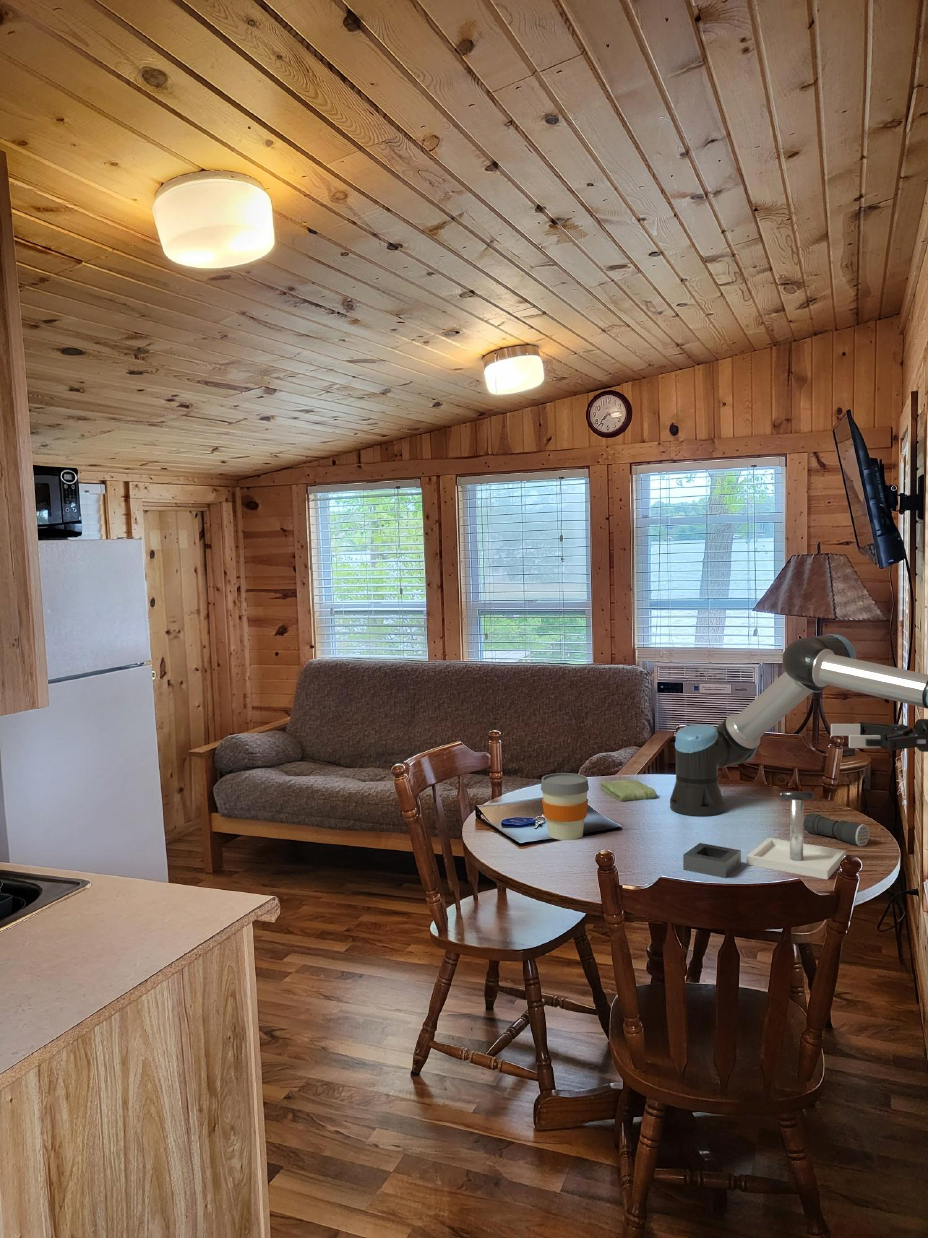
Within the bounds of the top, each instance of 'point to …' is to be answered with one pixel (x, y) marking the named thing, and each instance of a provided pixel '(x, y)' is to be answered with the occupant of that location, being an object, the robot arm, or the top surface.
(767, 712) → the robot arm
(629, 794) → the washcloth
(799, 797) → the chuck key
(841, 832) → the flashlight
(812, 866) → the tray
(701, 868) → the chuck socket block
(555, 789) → the reusable coffee cup
